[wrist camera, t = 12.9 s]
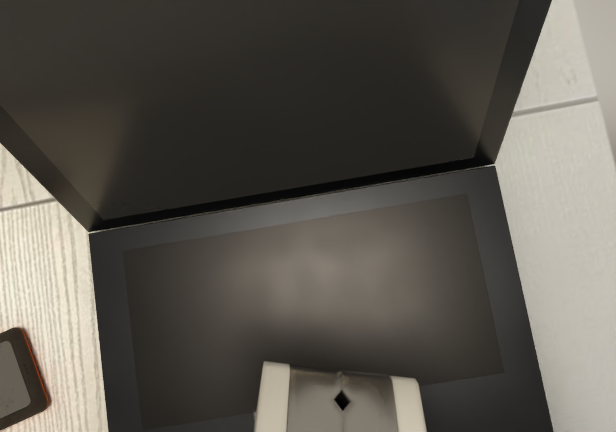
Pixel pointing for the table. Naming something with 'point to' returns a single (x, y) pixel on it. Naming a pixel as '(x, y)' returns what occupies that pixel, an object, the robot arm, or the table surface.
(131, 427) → the notebook
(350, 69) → the notebook screen
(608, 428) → the table surface
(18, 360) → the phone
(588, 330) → the table surface
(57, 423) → the table surface
